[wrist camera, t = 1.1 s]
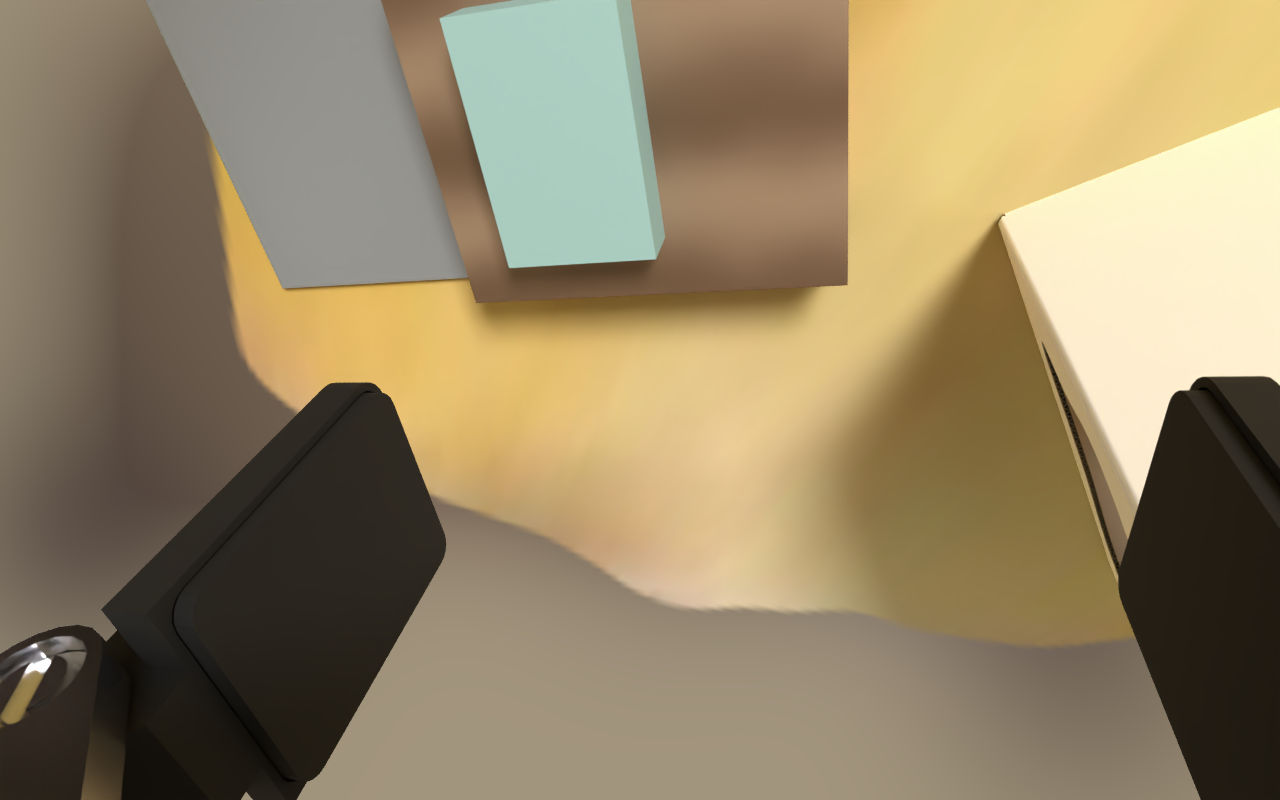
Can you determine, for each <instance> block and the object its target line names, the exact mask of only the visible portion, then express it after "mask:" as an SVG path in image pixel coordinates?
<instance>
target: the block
mask: <svg viewBox="0 0 1280 800" xmlns="http://www.w3.org/2000/svg"><path fill="white" fill-rule="evenodd" d="M439 19H440V22H441V26H442V30H443V33H444V37H445V40H446V44H447V47H448V51H449V55H450V58H451V62H452V65H453V69H454V73H455V76H456V80H457V83H458V87H459V90H460V94H461V98H462V101H463V105H464V108H465V112H466V116H467V119H468V123H469V126H470V130H471V133H472V137H473V141H474V144H475V148H476V151H477V155H478V159H479V162H480V166H481V169H482V173H483V176H484V180H485V184H486V187H487V191H488V194H489V198H490V202H491V205H492V209H493V212H494V216H495V219H496V223H497V227H498V230H499V234H500V237H501V241H502V244H503V248H504V252H505V255H506V259H507V262H508V266H509V268H519V267H536V266H553V265H569V264H586V263H603V262H620V261H636V260H653V259H656V258H657V256H658V254H659V251H660V249H661V246H662V244H663V242H664V239H665V233H664V226H663V219H662V212H661V205H660V198H659V191H658V185H657V178H656V171H655V164H654V157H653V150H652V143H651V136H650V129H649V122H648V116H647V109H646V102H645V95H644V88H643V81H642V74H641V67H640V60H639V54H638V47H637V40H636V33H635V26H634V19H633V12H632V5H631V0H512V1H506V2H499V3H493V4H487V5H480V6H474V7H468V8H462V9H460V10H458V11H455V12H453V13H451V14H448V15H446V16H444V17H442V18H439Z"/></svg>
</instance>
